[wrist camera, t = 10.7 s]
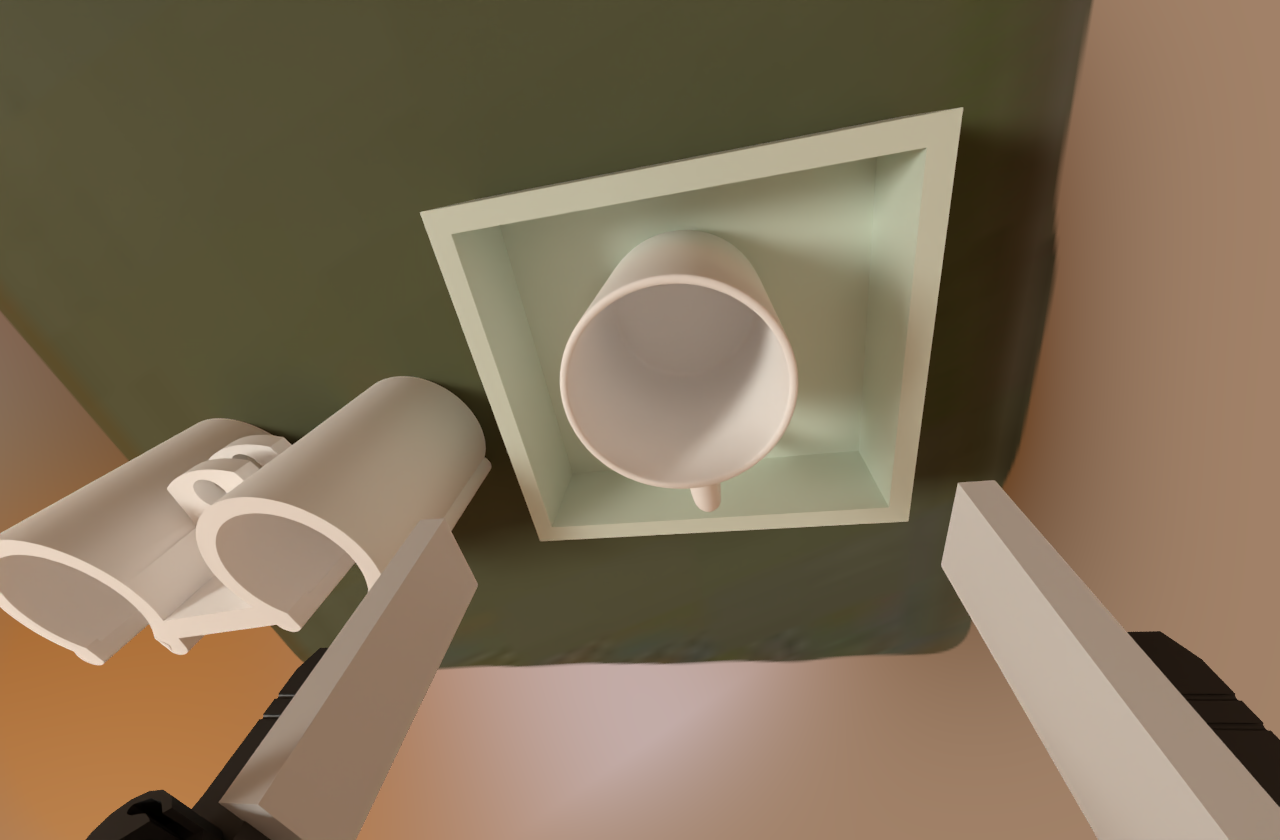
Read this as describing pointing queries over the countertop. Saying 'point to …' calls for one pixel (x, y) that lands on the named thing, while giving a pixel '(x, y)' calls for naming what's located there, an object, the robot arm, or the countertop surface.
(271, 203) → the countertop surface
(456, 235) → the tub
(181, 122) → the countertop surface
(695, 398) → the cup
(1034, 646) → the robot arm
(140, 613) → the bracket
